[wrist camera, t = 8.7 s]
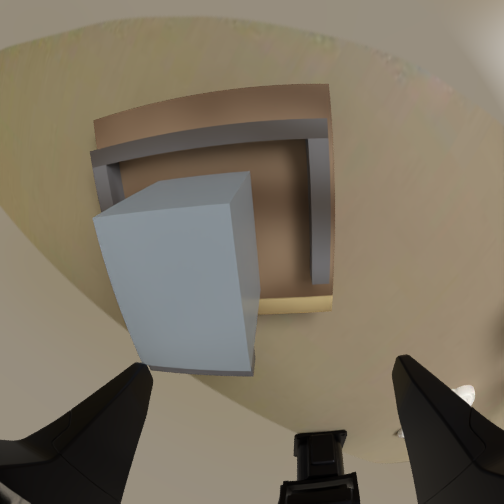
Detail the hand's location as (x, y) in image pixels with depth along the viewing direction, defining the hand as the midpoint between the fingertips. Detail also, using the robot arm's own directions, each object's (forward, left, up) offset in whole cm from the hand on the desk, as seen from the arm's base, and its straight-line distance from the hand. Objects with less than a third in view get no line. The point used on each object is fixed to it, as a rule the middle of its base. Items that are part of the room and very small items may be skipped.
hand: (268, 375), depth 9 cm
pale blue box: (+2, +3, -9) cm, 10 cm away
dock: (+3, +3, -12) cm, 12 cm away
